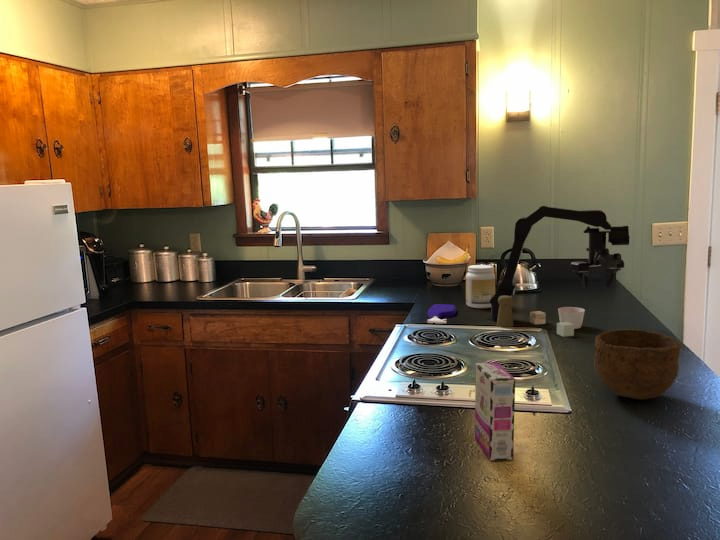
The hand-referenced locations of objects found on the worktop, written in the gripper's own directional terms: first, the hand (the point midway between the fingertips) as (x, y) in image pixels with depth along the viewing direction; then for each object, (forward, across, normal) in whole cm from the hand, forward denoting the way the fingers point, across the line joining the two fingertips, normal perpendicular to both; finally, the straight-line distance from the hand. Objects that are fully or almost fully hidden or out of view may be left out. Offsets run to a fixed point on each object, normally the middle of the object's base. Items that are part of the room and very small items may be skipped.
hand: (596, 288), depth 213 cm
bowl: (+14, -36, -64) cm, 75 cm away
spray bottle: (+13, -47, +32) cm, 59 cm away
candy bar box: (+13, -82, -79) cm, 114 cm away
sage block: (+13, -18, -8) cm, 24 cm away
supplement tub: (+13, -24, +45) cm, 52 cm away
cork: (+13, -31, +11) cm, 35 cm away
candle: (+13, -10, +1) cm, 17 cm away
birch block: (+13, -18, +10) cm, 24 cm away
